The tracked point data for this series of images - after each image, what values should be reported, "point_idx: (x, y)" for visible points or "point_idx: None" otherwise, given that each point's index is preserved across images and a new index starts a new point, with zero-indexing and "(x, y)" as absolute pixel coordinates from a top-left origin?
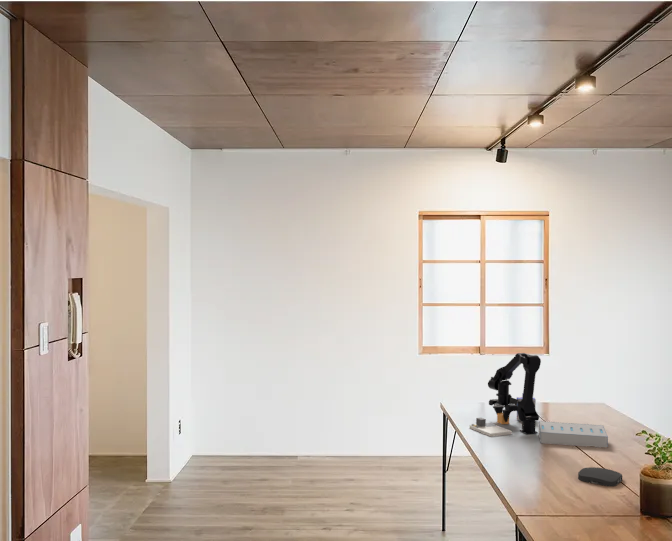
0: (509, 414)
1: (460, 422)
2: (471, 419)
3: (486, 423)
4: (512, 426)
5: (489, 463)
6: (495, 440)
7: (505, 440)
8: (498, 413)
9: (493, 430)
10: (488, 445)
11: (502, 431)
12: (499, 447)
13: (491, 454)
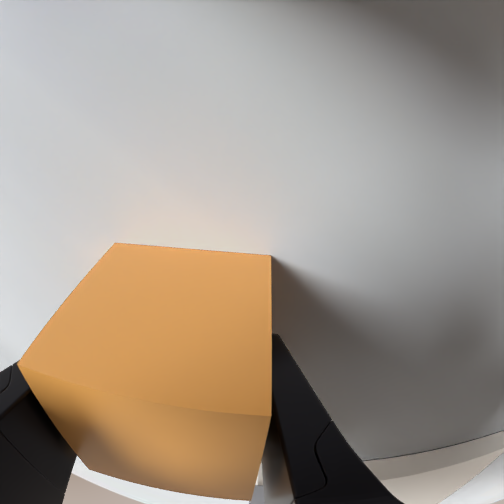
0: (360, 466)
1: (106, 482)
2: None
3: (257, 500)
4: (427, 326)
5: (501, 497)
6: (465, 488)
7: (498, 466)
8: (110, 473)
9: (415, 502)
10: (464, 501)
11: (465, 479)
12: (497, 484)
13: (492, 496)
